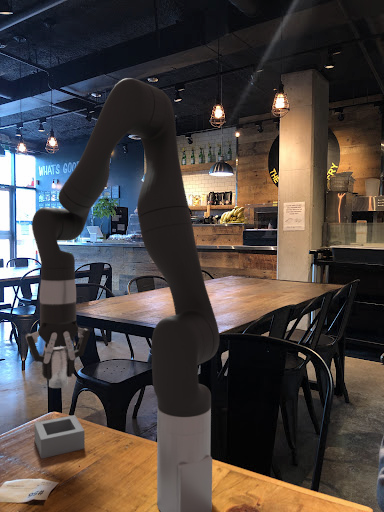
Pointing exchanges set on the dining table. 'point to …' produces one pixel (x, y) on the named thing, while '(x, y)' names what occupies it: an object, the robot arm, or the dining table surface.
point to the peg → (58, 368)
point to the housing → (59, 436)
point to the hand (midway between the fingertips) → (58, 377)
